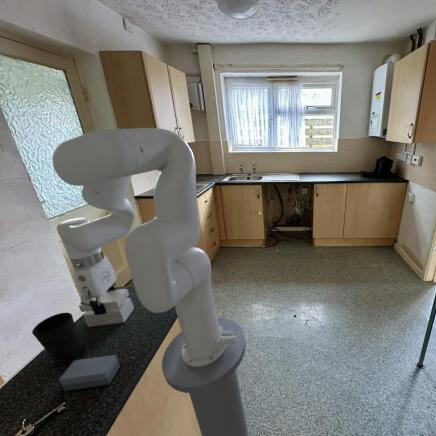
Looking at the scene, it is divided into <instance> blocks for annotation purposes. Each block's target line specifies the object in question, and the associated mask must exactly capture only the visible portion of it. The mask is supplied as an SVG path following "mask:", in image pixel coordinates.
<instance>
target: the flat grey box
mask: <svg viewBox="0 0 436 436" xmlns="http://www.w3.org/2000/svg"><path fill="white" fill-rule="evenodd" d="M129 295H130V293H129V291H128V288H120V289H116V290H111V291H106V292H105V293H104V294H103V295H102V296H100V299H101V303H103V305H104V307H105V309H111V308H119V307H120V305H121V304H122V303H123V301H124V300H125V299H126V298H128V296H129ZM93 301H96V297H93ZM78 308H79V310H80V313H86V312H87V311H93V310H92V307H91V306H86V305H81V304H79V305H78Z"/></svg>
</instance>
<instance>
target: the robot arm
mask: <svg viewBox="0 0 436 436" xmlns="http://www.w3.org/2000/svg"><path fill="white" fill-rule="evenodd" d="M52 166H53V170H54V172H55V173H56V174H57V176H58V177H59V178H60V179H61V181H63V182H64V183H65V184H68V185H70V186H76V187H81V186H82V190H81V197H82V199H83V200H84V202H85V203H86V204H88V205H89V206H91V207H93V208H96V209H99V210H106V211H111V212H110V214H108V215H105V216H101V217H98V218H96V219H93V220H90V219H88V218H86V217H77V218H70V219H67V220H64V221H62V222H60V223H58V225H57V226H56V231H57V233H58V236H59V238H60V240H61V242H62V245H63V248H64V249H65V251H66V253H67V256H68V258H69V260H70V262H71V265H72V268H73V269H74V270H73V272H74V277H75V280H76V284H77V287H78V289H79V292H80V294H81V299H80V304H81V305H86V306H91V307H92V310H93V312H94V314H95V315H101V314H105V313H106V309H105V307H104V305H103V303H101V299H100V296H102V295H103V294H104V293H105V292H106V291H111V290H117V288H116V287H117V284H116V281H117V279H118V278H117V277H118V276H117V272H116V271H115V269H114V267H113V266H112V263H111V262H110V260H109V258H108V257H107V255H106V254H104V252H103V249H102V247H104V246H107V245H109V244H111V243H113V242H115V241H117V240H120V239H122V238H124V237H125V236H126V239H125V242H124V251H125V256H126V261H127V264H128V268H129V271H130V276H131V279H132V283H133V287H134V290H135V293H136V296H137V298H138V300H139V302H140V304H141V305H142V306H143V307H144V308H145V309H146V310H148V311H149V312H151V313H155V314H161V313H165V312H167V311H170V310H171V309H172V308H174V309H175V314H176V317H177V321H178V324H179V328H180V332H182V335H183V339H184V342H185V343H184V345H183V348H182V353H181V354H182V358H183V361H184V362H185V364H187V365H188V366H191V367H203V366H206V365H209V364H211V363H213V362H214V361H216V360H217V359H218V358H219V357H220V356H221V355H222V354H223V353H224V351H225V349H226V347H227V344H229V343H230V344H232V343H236V336H231V335H233V330H231V331H226V332H225V331H223V328H222V326H219V324H218V319H217V318H218V315H217V309H216V305H215V298H214V293H213V289H212V288H213V287H212V264H211V260H210V258H209V256H208V254H207V253H206V252H205V251H204V250H203V249H202V248H199V247H195V245H197V243H199V241H200V239H201V235H202V233H201V219H200V211H199V203H198V196H197V195H198V194H197V185H196V184H197V168H196V160H195V156H194V153H193V150H192V149H191V147H190V146H189V144H188V142H186V140H185V139H184V138H183V137H181V136H180V134H178V133H176V132H174V131H171V130H168V129H164V128H158V127H136V128H135V127H134V128H109V129H108V128H107V129H97V130H93V131H90V132H87V133H84V134H81V135H79V136H76V137H73V138H70V139H67V140H65V141H63V142H61V143H59V144H58V145H57V146H56V147H55V148H54V151H53V154H52ZM153 171H158V172H159V174H158V176H157V178H156V181H155V184H154V188H153V203H154V207H155V216H154V218H152V219H150V220H148V221H146V222H144V223H142V224H140V225H138V226H136V227H135V228H133V229H132V227H133V224H134V222H135V216H136V215H135V211H134V208H133V205H132V203H131V202H130V201H129V200H128V198H126V197H127V193H128V190H129V188H130V187H129V186H130V183H131V180H132V178H133V177H132V176H135V175H136V176H137V175H141V174H145V173H149V172H153ZM131 229H132V230H131ZM93 297H96V301H93ZM80 304H79V305H80ZM227 336H230V337H227Z"/></svg>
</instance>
